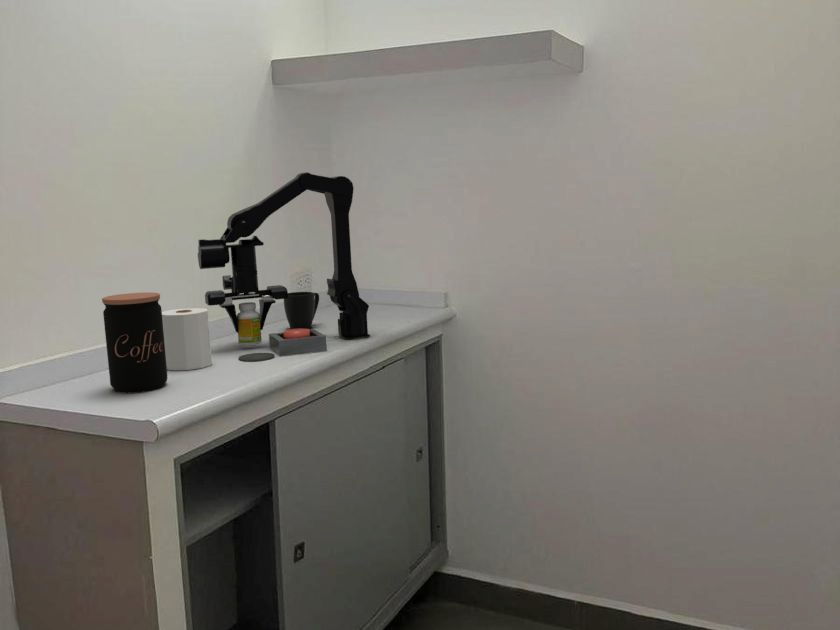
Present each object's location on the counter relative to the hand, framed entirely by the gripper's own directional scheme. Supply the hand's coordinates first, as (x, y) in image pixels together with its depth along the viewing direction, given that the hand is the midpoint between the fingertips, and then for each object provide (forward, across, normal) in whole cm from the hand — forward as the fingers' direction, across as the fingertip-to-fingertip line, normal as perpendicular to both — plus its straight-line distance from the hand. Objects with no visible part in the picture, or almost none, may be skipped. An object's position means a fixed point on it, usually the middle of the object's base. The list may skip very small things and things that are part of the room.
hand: (249, 330), depth 199 cm
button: (+2, -10, +9) cm, 13 cm away
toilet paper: (+4, +16, +13) cm, 21 cm away
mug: (+4, -19, -22) cm, 29 cm away
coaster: (+4, +1, +13) cm, 14 cm away
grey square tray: (+4, -10, +8) cm, 13 cm away
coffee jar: (+4, +27, +29) cm, 40 cm away
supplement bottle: (+3, 0, 0) cm, 3 cm away
